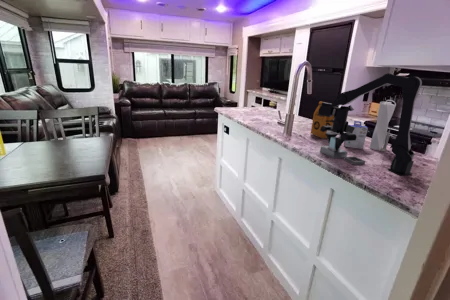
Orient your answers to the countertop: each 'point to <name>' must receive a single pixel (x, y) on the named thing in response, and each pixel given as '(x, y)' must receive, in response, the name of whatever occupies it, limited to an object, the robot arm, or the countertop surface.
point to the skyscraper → (382, 126)
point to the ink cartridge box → (360, 134)
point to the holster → (357, 162)
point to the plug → (332, 144)
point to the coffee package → (320, 123)
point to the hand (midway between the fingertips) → (333, 148)
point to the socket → (333, 152)
